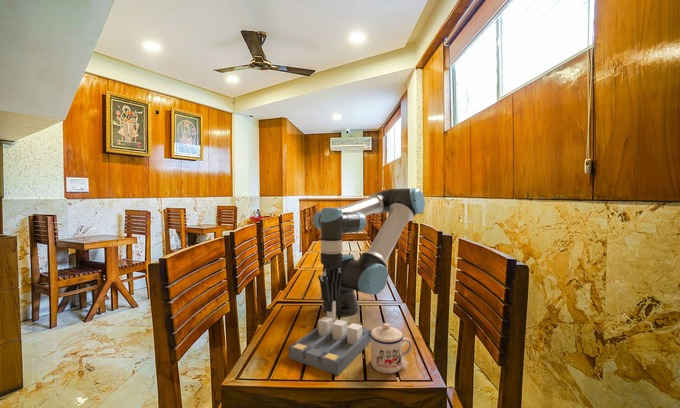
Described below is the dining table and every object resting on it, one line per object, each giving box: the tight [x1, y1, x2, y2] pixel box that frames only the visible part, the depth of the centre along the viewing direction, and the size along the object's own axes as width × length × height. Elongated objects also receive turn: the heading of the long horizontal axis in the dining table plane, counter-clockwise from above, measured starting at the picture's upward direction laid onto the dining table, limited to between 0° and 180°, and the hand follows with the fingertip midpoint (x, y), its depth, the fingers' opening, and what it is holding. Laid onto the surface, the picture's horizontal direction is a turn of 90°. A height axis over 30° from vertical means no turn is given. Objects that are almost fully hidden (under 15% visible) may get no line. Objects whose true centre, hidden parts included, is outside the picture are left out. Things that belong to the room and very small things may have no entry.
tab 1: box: [317, 315, 333, 336], centre depth 98 cm, size 4×4×5 cm
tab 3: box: [347, 322, 363, 345], centre depth 93 cm, size 4×4×5 cm
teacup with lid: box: [370, 322, 413, 374], centre depth 83 cm, size 12×9×12 cm
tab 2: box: [332, 319, 348, 340], centre depth 95 cm, size 4×4×5 cm
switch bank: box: [288, 320, 373, 376], centre depth 92 cm, size 22×17×4 cm
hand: (331, 319), depth 101 cm, fingers closed
